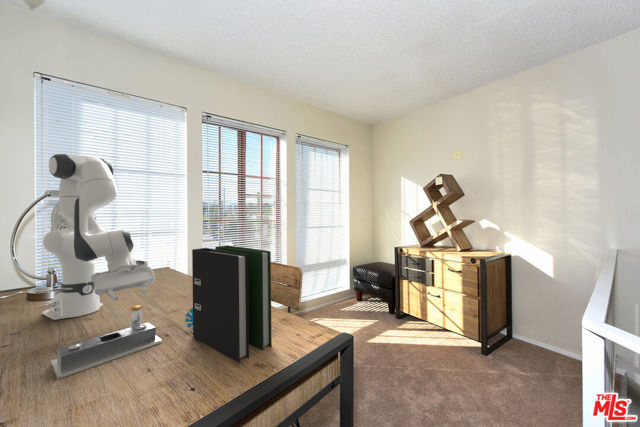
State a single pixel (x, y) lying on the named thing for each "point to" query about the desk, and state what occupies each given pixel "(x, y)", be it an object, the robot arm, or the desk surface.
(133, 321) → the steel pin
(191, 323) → the gear
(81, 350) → the grey slotted bar
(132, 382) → the desk surface
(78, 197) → the robot arm
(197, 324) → the binders
